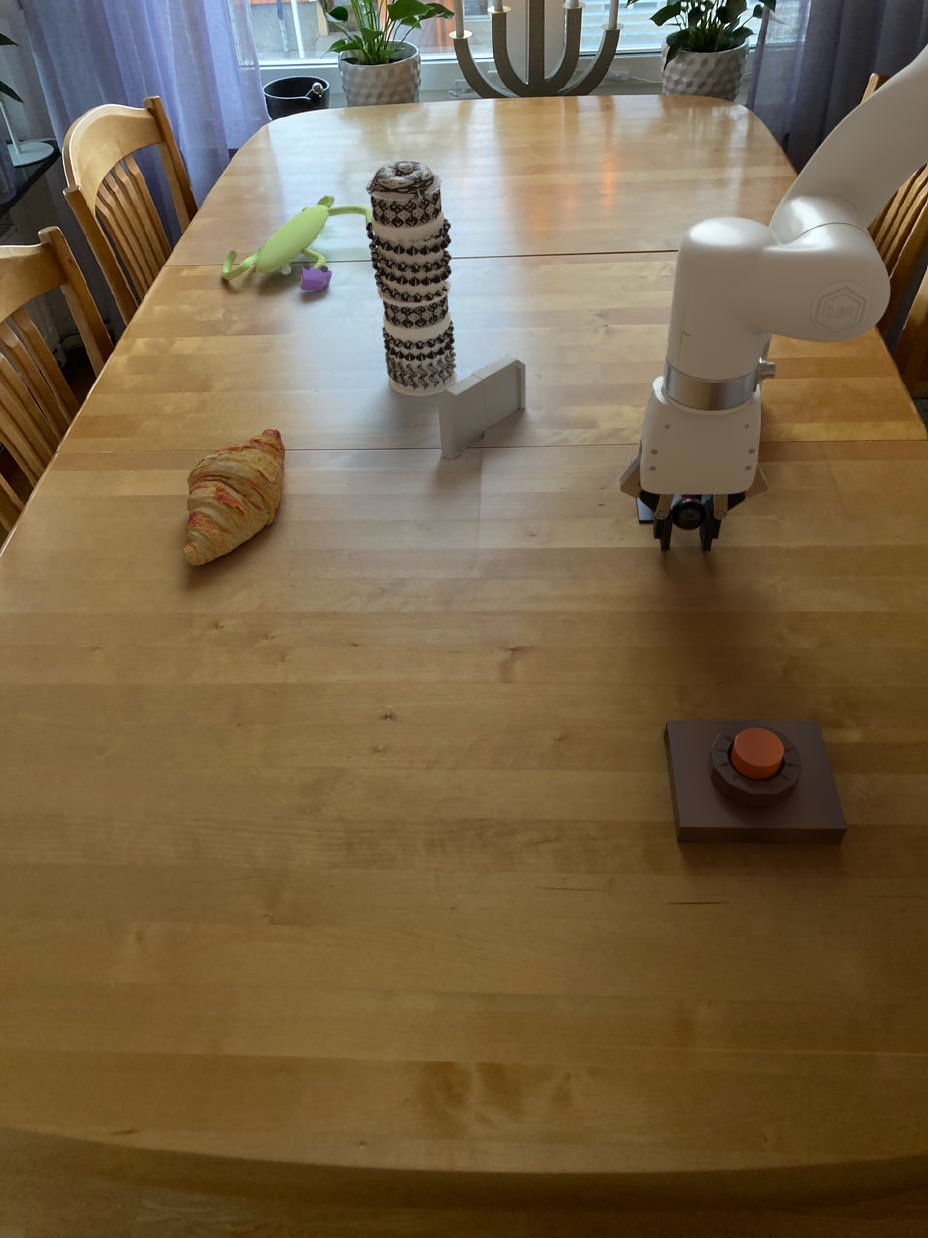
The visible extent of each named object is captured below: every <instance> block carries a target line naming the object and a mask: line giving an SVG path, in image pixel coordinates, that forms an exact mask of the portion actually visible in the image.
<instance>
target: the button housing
mask: <svg viewBox="0 0 928 1238" xmlns="http://www.w3.org/2000/svg"><path fill="white" fill-rule="evenodd" d="M749 728H762V729H765V730H768V731H770V732H772V733H773V734H775V735H776V736H777V737H778V738H779V739H780V740H781V742H782V744H783V747H784V755H783V758H782V761H781V764H780V768H779V770H778V772H777V773H776V774H775V775H774V776H772V777H770V778H768V779H764V780H755V779H750V778H748V777H745V776H743V775H742V774H740V773H739V772H738V771H737V770H736V769H735V767H734V766H733V764H732V761H731V753H732V749H733V745H734V741H735V738H736V736H737V735H738V734H739V733H740V732H742V731H743V730H746V729H749ZM663 734H664V735H663V739H664V740H663V741H664V748H665V755H666V756H665V757H666V765H667V771H668V779H669V780H668V781H669V788H670V794H671V796H670V797H671V803H672V811H673V819H674V828H675V835H676V841H677V843H687V844H689V843H690V844H692V843H695V844H697V843H698V844H782V845H783V844H784V845H785V844H786V845H788V844H789V845H790V844H791V845H793V844H794V845H841V843H842V842H843V840H844V837H845V834H846V832H847V830H848V827H847V823H846V820H845V816H844V813H843V808H842V804H841V800H840V797H839V793H838V790H837V785H836V781H835V778H834V774H833V771H832V767H831V763H830V759H829V756H828V752H827V748H826V744H825V741H824V736H823V733H822V729H821V725H820V721H819V720H817V719H816V720H814V719H813V720H807V719H805V720H804V719H803V720H802V719H795V720H793V719H791V720H790V719H789V720H787V719H783V720H781V719H780V720H779V719H778V720H777V719H776V720H775V719H760V720H759V719H666V721H665V728H664V733H663Z"/></svg>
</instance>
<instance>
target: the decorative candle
mask: <svg viewBox="0 0 928 1238" xmlns="http://www.w3.org/2000/svg"><path fill="white" fill-rule="evenodd" d="M442 184H443V181H442V179H441V177H440V176H439V175H437V174H435V173H433V172H432V170H431V169H430V167H429V166H428V165H426V164H424V163H422V162H419V161H414V160H401V161H393V162H390V163H386V164H384V165H383V166H381V167H380V168H379V169H377V171H376V172H375V174H374V176H373V178H372V179H370V180H368V182H367V184H366V186H365V190H366V193H367V194H368V195H370V205H371V209H372V210H371V211H372V214H371V221H372V222H370V223H368V224H367V225H366V224H365V230H366V231H367V232H366V236H367V238H368V239H369V240H371V241H370V243H369V244H368V248H369V250H370V255H371V262H372V264H371V266H372V268H373V270H375V271H376V272H375V273H374V276H373V278H374V279H375V285H376V287H377V288H376V289H377V290H376V291H377V294H378V297H379V299H381V300H382V306H383V309H384V310H383V313H382V318H383V327H382V330H381V331H382V338H383V339H384V340H383V343H384V350H385V354H384V356H385V357H384V358H385V364H386V373H387V375H388V377H387V380H388V383H389V385H390V388H391V389H393V390H394V391H395V392H396V393H398V394H400V395H404V396H407V397H417V398H418V397H420V398H423V397H430V396H435V395H439V394H441V393H444V392H445V390H446V389H448V388H449V387H451V386H453V385H454V384H456V379H457V377H458V376H457V371H456V369H455V368H457V366H458V365H457V363H455V361H456V358H455V357H456V356H457V352H455V349H456V348H455V346H454V345H453V344H455V337H454V333H453V332H454V330H455V327H454V323H453V320H452V319H451V318H452V317H451V309H450V307H449V298H448V297H449V296H448V295H449V293H450V290H451V287H452V284H451V281H450V279H449V278H450V276H451V275H452V272H453V271H452V268H451V266H450V265H449V264H450V261H451V260H452V254H450V252H449V251H448V250H447V248H449V246H450V244H451V243H452V238H451V236H450V234H448V233H449V230H450V229H452V228H451V227H452V224H451V223H450V221H449V220H448V219H447V218H445V215H444V214H445V213H444V209H443V207H442V193H441V187H442ZM373 230H374V231H373Z"/></svg>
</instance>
